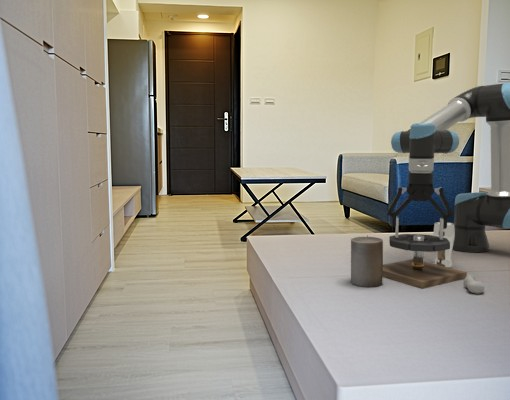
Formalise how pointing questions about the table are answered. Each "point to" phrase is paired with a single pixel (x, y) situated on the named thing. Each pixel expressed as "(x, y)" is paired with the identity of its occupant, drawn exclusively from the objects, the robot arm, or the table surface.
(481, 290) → the smooth white sculpture
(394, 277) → the walnut base
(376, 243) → the pillar candle
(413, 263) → the steel post
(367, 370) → the table surface
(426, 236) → the dark grey faceted disc
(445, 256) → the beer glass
